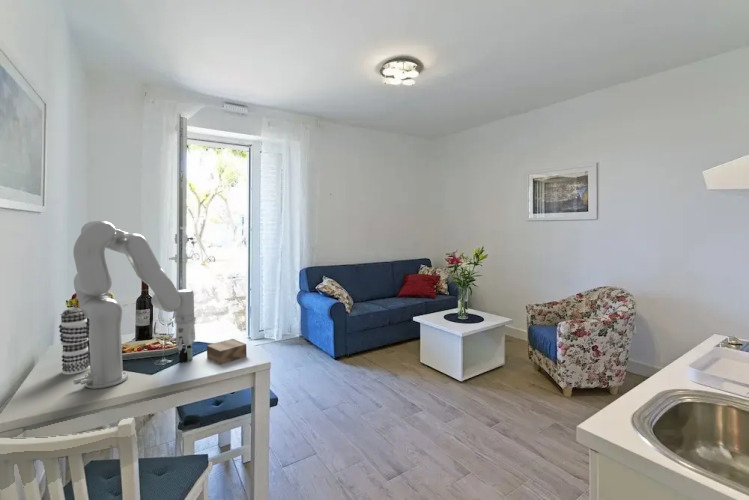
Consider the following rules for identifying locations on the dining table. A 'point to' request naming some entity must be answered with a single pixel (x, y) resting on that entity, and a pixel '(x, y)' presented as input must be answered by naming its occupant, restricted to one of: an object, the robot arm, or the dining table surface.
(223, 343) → the walnut block
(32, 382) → the dining table surface
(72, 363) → the black white patterned vase
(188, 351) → the green rounded block
